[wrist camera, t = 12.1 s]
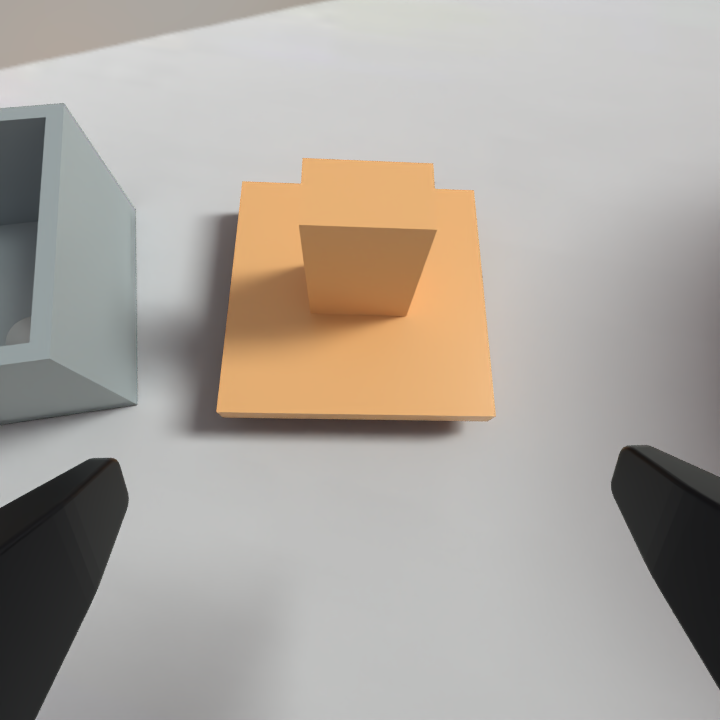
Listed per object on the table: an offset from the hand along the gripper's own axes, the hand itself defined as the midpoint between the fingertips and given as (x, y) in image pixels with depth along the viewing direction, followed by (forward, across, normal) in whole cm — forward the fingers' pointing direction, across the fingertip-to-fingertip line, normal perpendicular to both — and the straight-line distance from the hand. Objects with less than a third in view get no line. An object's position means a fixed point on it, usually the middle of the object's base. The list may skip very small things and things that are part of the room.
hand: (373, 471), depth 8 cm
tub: (+13, +15, +1) cm, 20 cm away
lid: (+14, 0, +2) cm, 14 cm away
